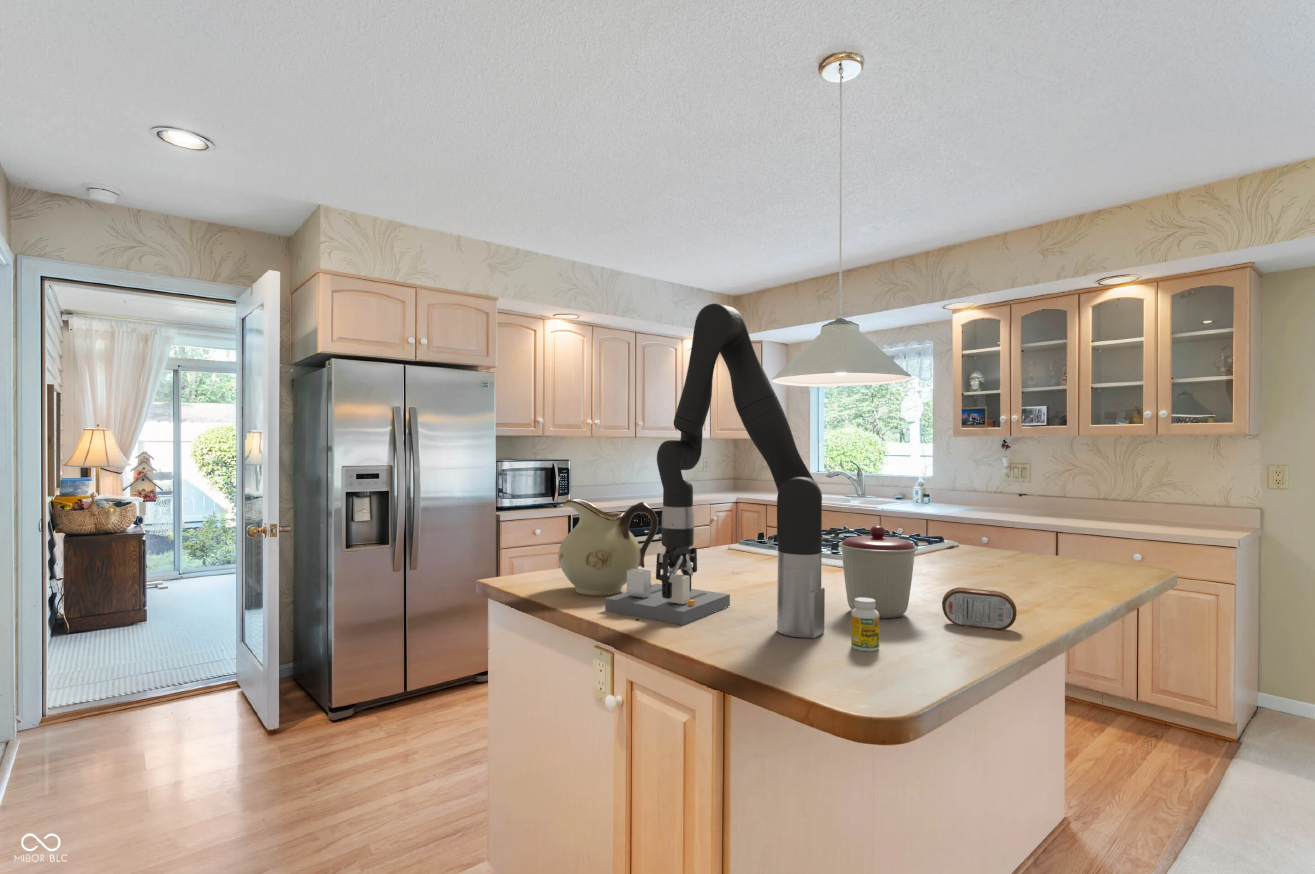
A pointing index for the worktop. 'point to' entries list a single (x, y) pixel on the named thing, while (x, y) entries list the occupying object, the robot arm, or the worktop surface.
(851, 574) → the canister
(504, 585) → the worktop surface
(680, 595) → the block
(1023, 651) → the worktop surface
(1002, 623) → the tin
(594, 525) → the pitcher
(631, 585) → the light grey block
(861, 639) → the supplement bottle
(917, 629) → the worktop surface
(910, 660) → the worktop surface
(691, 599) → the grey slotted tray
